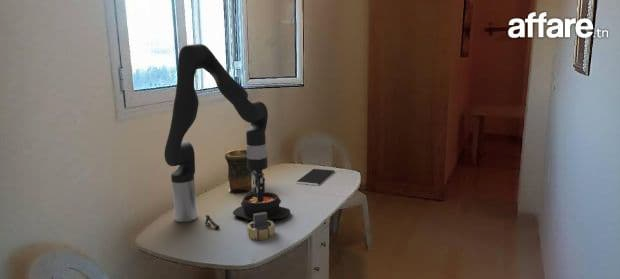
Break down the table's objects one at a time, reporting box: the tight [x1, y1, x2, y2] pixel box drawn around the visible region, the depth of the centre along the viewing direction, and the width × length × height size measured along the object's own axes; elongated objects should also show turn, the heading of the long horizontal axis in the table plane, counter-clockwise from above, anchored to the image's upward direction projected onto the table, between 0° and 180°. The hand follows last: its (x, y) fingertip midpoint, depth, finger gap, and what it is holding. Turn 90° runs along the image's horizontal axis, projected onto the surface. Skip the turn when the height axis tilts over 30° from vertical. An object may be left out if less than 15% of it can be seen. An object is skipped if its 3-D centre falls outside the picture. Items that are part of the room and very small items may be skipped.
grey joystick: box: [252, 212, 269, 229], centre depth 167 cm, size 6×6×6 cm
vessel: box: [224, 149, 254, 196], centre depth 220 cm, size 14×14×20 cm
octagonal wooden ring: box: [246, 219, 276, 241], centre depth 168 cm, size 10×10×4 cm
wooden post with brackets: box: [204, 214, 220, 230], centre depth 177 cm, size 2×8×4 cm, turn 48°
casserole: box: [232, 191, 291, 221], centre depth 186 cm, size 25×19×8 cm
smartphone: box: [295, 168, 336, 187], centre depth 240 cm, size 13×27×2 cm, turn 158°
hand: (259, 199), depth 165 cm, fingers open, 4 cm apart
